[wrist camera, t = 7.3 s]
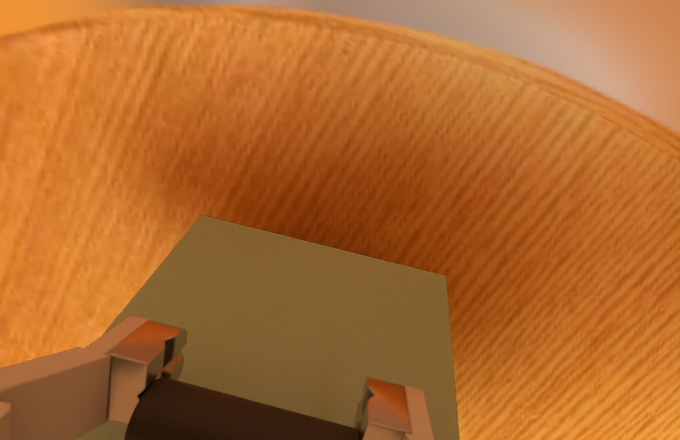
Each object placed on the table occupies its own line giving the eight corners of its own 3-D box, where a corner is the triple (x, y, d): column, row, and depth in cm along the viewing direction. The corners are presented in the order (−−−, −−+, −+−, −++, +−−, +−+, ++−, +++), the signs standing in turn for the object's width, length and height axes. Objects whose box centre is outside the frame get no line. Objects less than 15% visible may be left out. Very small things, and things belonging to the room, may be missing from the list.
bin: (195, 164, 15) (-193, 533, 5) (470, 231, 14) (568, 762, 5) (217, 344, 24) (91, 592, 15) (384, 388, 24) (361, 672, 14)
